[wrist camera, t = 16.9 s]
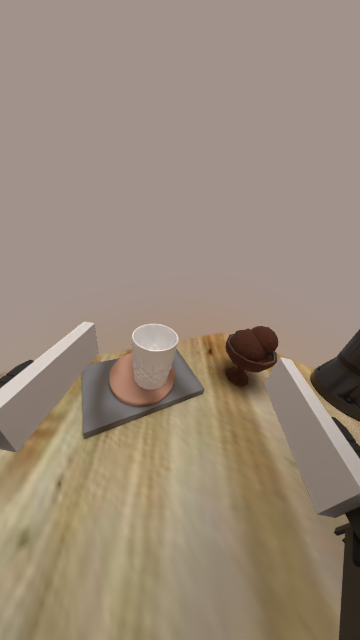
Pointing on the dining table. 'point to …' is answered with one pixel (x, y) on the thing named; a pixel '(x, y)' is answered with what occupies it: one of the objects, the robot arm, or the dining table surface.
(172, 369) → the serving stand
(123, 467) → the dining table surface
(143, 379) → the white cup
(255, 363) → the ice cream bowl
